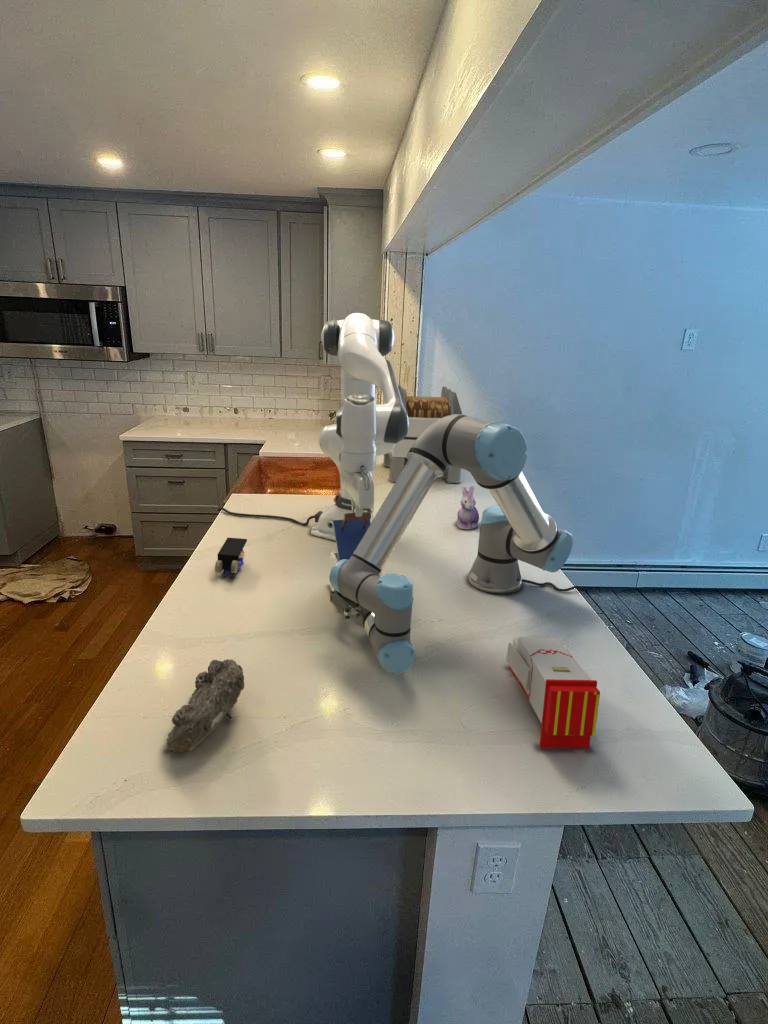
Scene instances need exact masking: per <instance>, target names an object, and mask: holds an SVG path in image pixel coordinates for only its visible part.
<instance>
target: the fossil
mask: <svg viewBox="0 0 768 1024" xmlns="http://www.w3.org/2000/svg"><path fill="white" fill-rule="evenodd" d="M243 670H244V669H243V667H242V665H240V664H237V662H236V661H235V660H234V659H232V658H231V659H227V658H226V659H224V660H223V661H222V660H217V659H212V660H211V661H210V663H209V665H208V666H207V671H201V672H199V673H198V674H197V675H196V676H195V680H194V684H195V685H194V687H195V689H194V690H193V693H192V694H191V697H190V698H189V700H188V704H184V705H182V706H181V707H180V709H177V710H176V711H175V713H174V715H173V716H172V718H171V723H172V724H173V727H172V730H171V731H170V732H168V734H167V738H166V741H167V742H166V745H167V749H168V750H169V751H173V752H174V753H176V754H178V753H182V752H188V751H189V752H192V751H193V750H195V748H196V747H197V746H199V744H200V743H201V742H203V741H204V740H205V739H206V738H207V737H208V736H209V735H210V734H211V733H212V732H214V730H215V729H217V727H218V726H219V724H220V722H221V721H222V720H223V719H224V718H225V716H226V717H227V719H229V720H233V717H232V715H230V714H229V710H230V709H231V708H234V706H235V704H236V703H237V702H238V699H239V697H240V695H241V693H242V691H243V690H245V689H244V688H245V675H244V671H243Z"/></svg>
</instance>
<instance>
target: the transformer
mask: <svg viewBox="0 0 768 1024" xmlns="http://www.w3.org/2000/svg"><path fill="white" fill-rule="evenodd" d="M397 385H398V389H399V392H400V396H401V399H402V403H403V405H404V407H405V410H406V413H407V416H408V421H409V427H408V433H407V435H406V436H405V437H404V438H403V439H402V440H401V441H400V442H398V443H397V444H395V447H394V449H393V450H392V451H391V452H390V453H387V454H383V466H384V467H388V468H389V475H388V476H389V477H388V478H389V480H390V482H391V483H395V482H396V480H397V479H398V477H399V475H400V474H401V472H402V470H403V469H404V467H405V465H406V464H407V462H408V458H407V453H408V452H409V450H410V448H411V447H412V445H413V444H414V442H415V441H416V440H417V438H418V437H419V436H420V435H421V434H422V433H423V432H424V431H425V430H426V429H427V428H428V427H429V426H430V425H432V424H433V423H434V422H436V421H438V420H439V419H441V418H443V417H446V416H449V415H454V414H461V415H463V411H462V408H461V405H460V402H459V398H458V395H457V392H455V391H453V390H452V389H451V388H447V386H442V387H441V392H440V393H441V394H440V396H415V395H414V396H413V395H412V396H411V395H407V394H408V393H407V390H406V389H404V388H403V387H402V385H399V384H397ZM461 472H462V468H458V467H455V466H452V465H451V466H449V467H448V468H447V469H446V470H445V472H444V474H443V475H442V476H443V478H444V479H445V481H446V482H447V483H449V484H455V483H456V484H459V483H461Z"/></svg>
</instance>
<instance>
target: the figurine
mask: <svg viewBox="0 0 768 1024" xmlns="http://www.w3.org/2000/svg"><path fill="white" fill-rule="evenodd" d="M474 490H475V486H474V485H471V487H469V490H467V488H466V487H465V486H462V487H461V491H462V497H461V500H460V505H461V508H460V509H458V510H457V515H456V516H457V519H456V526H458V528H459V529H461V530H473V529H475V528H477V527H478V525H479V521H480V514H479V511H478V509H477V507H476V504H477V502H476V499H475V496H474V492H475V491H474Z"/></svg>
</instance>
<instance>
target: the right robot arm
mask: <svg viewBox="0 0 768 1024" xmlns="http://www.w3.org/2000/svg"><path fill="white" fill-rule="evenodd" d="M527 451H528V443H527V440H526V437H525V436H524V434H523V433H522V431H521V430H520V429H519V428H517V427H515V426H513V425H510V424H507V423H505V422H502V421H494V420H489V419H483V418H478V417H473V416H469V415H465V414H462V415H461V414H454V415H449V416H446V417H443V418H441V419H439V420H438V421H436V422H434V423H433V424H432V425H430V426H429V427H428V428H427V429H426V430H425V431H424V432H423V433H422V434H421V435H420V436H419V437H418V438H417V440H416V441H415V442H414V444H413V445H412V447H411V448H410V450H409V452H408V453H407V458H408V462H407V464H406V465H404V468H403V470H402V472H401V474H400V475H399V477H398V479H397V480H396V482H394V484H393V485H392V487H391V489H390V491H388V494H387V496H386V497H385V499H384V501H383V502H382V504H381V506H380V507H379V509H378V511H377V512H376V513H375V516H373V521H372V522H371V524H370V526H369V528H368V529H367V531H366V533H365V534H364V536H363V538H362V539H361V541H360V543H359V544H358V546H357V548H356V549H355V551H354V553H353V555H352V556H351V558H350V559H349V560H347V559H343V560H340V561H338V563H337V564H335V565H334V566H333V567H332V569H331V572H330V571H329V576H328V579H329V585H330V584H331V586H332V587H333V588H334V591H332V590H331V591H329V602H330V603H331V604H332V605H333V606H334V607H336V609H337V610H338V611H340V612H341V613H342V614H343V617H344V619H350V616H356V617H357V618H358V619H359V621H360V623H361V626H362V628H363V629H364V632H365V634H366V636H367V638H368V640H369V642H370V644H371V647H372V648H373V651H374V653H375V655H376V659H377V661H378V662H379V664H380V665H381V667H382V668H383V669H384V671H386V672H388V673H390V674H402V673H404V672H406V671H408V670H409V669H411V667H412V666H413V665H414V663H415V661H416V650H415V649H414V645H413V643H411V633H412V631H411V630H412V627H411V625H412V614H413V613H412V612H413V604H414V594H413V591H414V587H413V586H414V585H413V582H412V580H411V579H410V578H409V577H408V576H405V575H403V574H398V573H387V574H384V575H381V576H380V574H381V573H382V571H383V569H384V568H385V566H386V564H387V562H388V560H389V558H390V557H391V555H392V554H393V551H394V550H395V548H396V547H397V545H398V543H399V542H400V540H401V539H402V536H403V535H404V533H405V531H406V529H407V528H408V526H409V525H410V523H411V521H412V519H413V518H414V517H415V514H416V513H417V511H418V509H419V507H420V506H421V504H422V502H423V500H424V499H425V498H426V496H427V494H428V492H429V490H430V489H431V487H432V485H433V484H434V482H435V480H436V479H437V478H440V477H442V476H443V475H444V472H445V470H446V469H447V468H448V467H449V466H451V465H452V466H455V467H458V468H461V470H465V471H467V472H469V474H470V475H471V476H472V477H473V480H474V481H475V483H476V484H477V485H478V486H479V487H480V488H482V489H485V490H488V491H489V492H490V494H491V495H492V497H493V499H494V501H495V503H496V504H497V505H494V506H489V507H486V508H485V509H484V510H483V511H482V514H481V519H480V522H479V535H478V536H479V537H478V546H477V554H476V557H475V559H474V562H473V564H472V565H471V568H470V570H469V572H468V583H470V585H471V586H472V587H474V588H475V589H477V590H480V591H483V592H486V593H490V594H496V595H505V594H506V595H507V594H512V593H515V592H517V591H519V590H520V589H521V586H522V583H527V584H530V585H534V586H538V587H543V586H550V587H552V588H553V589H554V590H556V591H558V592H562V593H563V592H564V593H565V592H569V591H572V590H575V589H578V590H581V591H582V592H586V589H584V588H583V587H582V586H581V585H574V586H571V587H567V588H559V587H557V586H556V585H555V584H554V583H552V582H549V581H547V582H543V583H541V582H535V581H532V580H528V579H524V578H522V575H521V570H520V565H519V561H520V562H523V563H526V564H529V565H531V566H533V567H535V568H537V569H541V570H542V571H546V572H548V573H557V572H558V571H560V570H561V569H562V568H563V567H564V565H565V564H566V562H567V561H568V559H569V557H570V555H571V553H572V549H573V545H574V537H573V534H572V533H571V532H569V531H567V530H566V529H564V530H563V529H561V528H559V527H558V524H557V523H556V521H555V520H554V519H553V517H552V516H551V515H549V514H547V513H545V512H544V511H543V509H542V507H541V505H540V503H539V501H538V500H537V498H536V495H535V494H534V491H533V490H532V488H531V487H530V483H528V481H527V479H526V477H525V475H524V473H523V469H524V468H525V466H526V462H527V459H528V453H527ZM574 588H575V589H574ZM351 607H352V608H353V609H352V608H351Z"/></svg>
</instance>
